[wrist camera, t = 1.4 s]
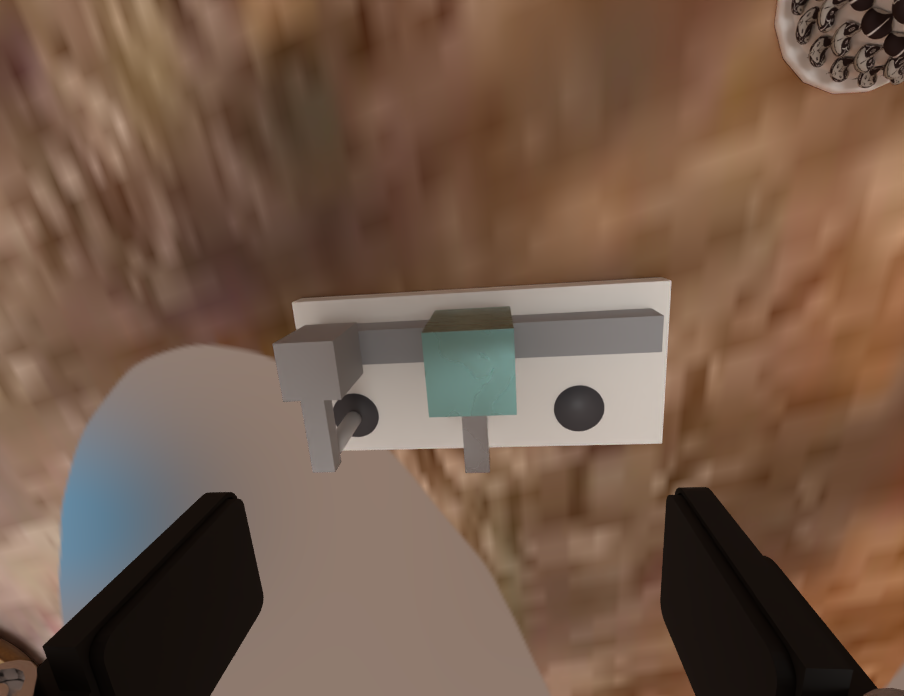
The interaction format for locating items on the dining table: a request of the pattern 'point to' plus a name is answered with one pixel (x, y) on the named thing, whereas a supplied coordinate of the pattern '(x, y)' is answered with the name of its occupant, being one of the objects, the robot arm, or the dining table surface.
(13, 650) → the plant saucer
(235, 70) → the dining table surface
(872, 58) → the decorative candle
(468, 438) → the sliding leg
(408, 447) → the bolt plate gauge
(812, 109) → the dining table surface
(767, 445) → the dining table surface
